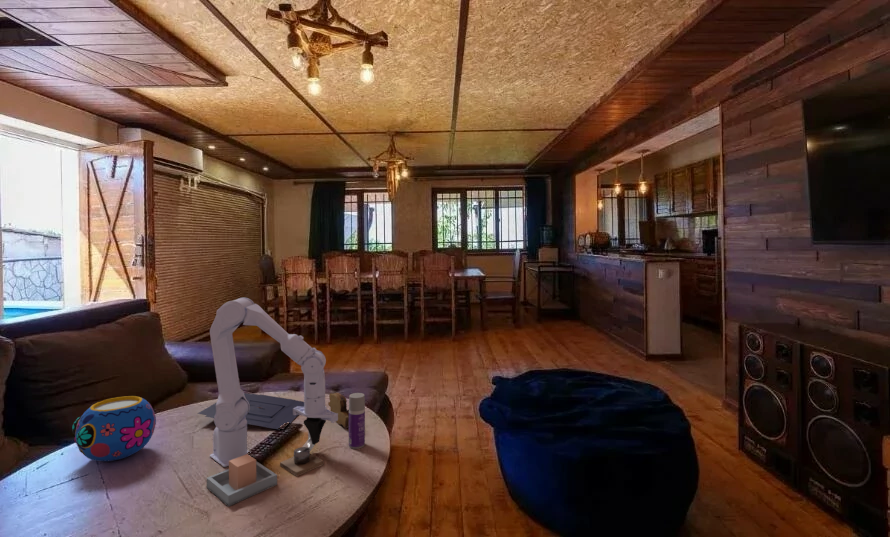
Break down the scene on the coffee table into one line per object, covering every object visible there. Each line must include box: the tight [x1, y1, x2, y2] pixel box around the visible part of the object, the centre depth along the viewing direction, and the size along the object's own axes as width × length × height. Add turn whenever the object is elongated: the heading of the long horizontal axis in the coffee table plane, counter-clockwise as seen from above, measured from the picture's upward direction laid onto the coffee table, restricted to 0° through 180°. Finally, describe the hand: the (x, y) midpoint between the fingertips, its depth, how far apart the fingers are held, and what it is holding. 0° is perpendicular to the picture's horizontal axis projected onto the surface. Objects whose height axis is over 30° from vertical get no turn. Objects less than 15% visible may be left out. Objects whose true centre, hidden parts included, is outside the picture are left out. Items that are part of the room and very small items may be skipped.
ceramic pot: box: [71, 395, 157, 462], centre depth 116 cm, size 18×18×15 cm
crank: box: [293, 431, 315, 464], centre depth 116 cm, size 12×4×4 cm, turn 179°
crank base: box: [279, 453, 324, 477], centre depth 112 cm, size 8×8×1 cm
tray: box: [206, 460, 278, 507], centre depth 102 cm, size 12×12×2 cm
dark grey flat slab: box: [197, 392, 304, 430], centre depth 146 cm, size 24×30×4 cm
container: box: [348, 392, 366, 450], centre depth 124 cm, size 5×5×15 cm
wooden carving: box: [328, 392, 349, 429], centre depth 140 cm, size 16×5×10 cm, turn 40°
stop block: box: [228, 454, 257, 490], centre depth 102 cm, size 4×4×6 cm
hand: (315, 442), depth 119 cm, fingers closed, pressing on crank
